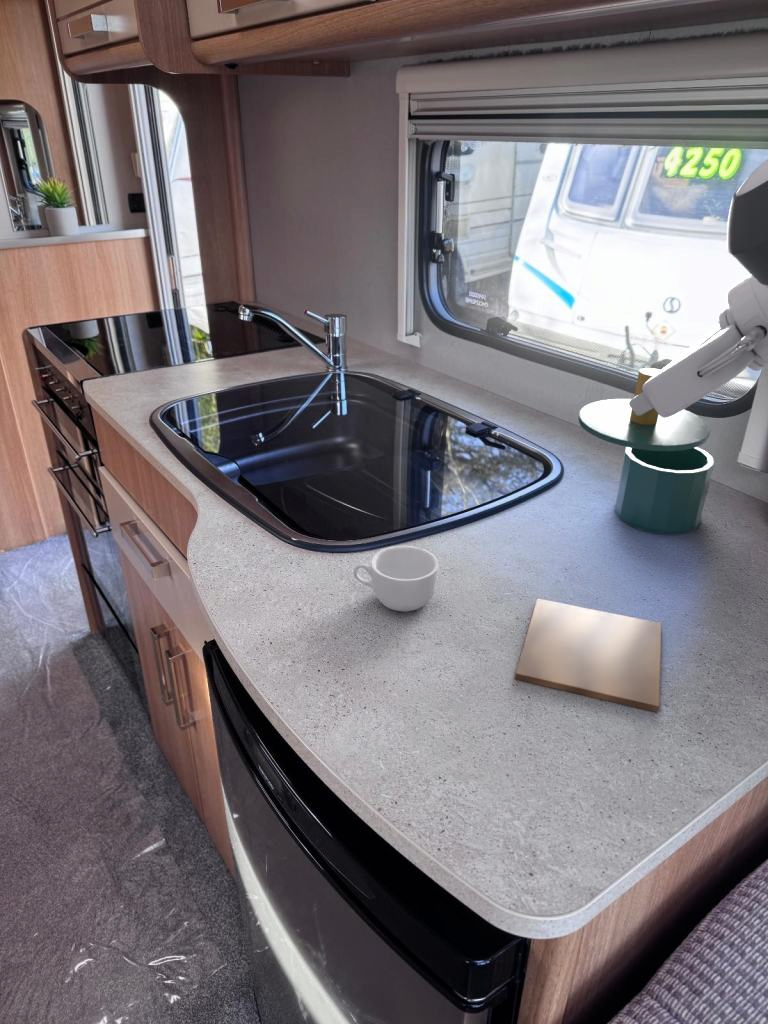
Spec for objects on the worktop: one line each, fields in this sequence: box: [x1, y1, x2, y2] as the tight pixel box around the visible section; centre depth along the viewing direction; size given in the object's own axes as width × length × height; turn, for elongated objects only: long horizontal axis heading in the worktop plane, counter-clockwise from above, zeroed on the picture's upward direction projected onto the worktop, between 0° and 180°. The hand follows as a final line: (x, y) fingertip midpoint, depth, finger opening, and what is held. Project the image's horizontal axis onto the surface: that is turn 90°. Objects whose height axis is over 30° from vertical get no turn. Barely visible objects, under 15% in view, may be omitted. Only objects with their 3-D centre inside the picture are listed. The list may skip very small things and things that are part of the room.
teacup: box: [353, 545, 440, 613], centre depth 85 cm, size 10×8×5 cm
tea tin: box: [614, 446, 715, 536], centre depth 103 cm, size 12×12×10 cm
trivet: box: [514, 597, 663, 713], centre depth 78 cm, size 14×14×1 cm
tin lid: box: [577, 367, 711, 451], centre depth 72 cm, size 13×13×6 cm
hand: (641, 402), depth 72 cm, fingers closed on tin lid, 2 cm apart
